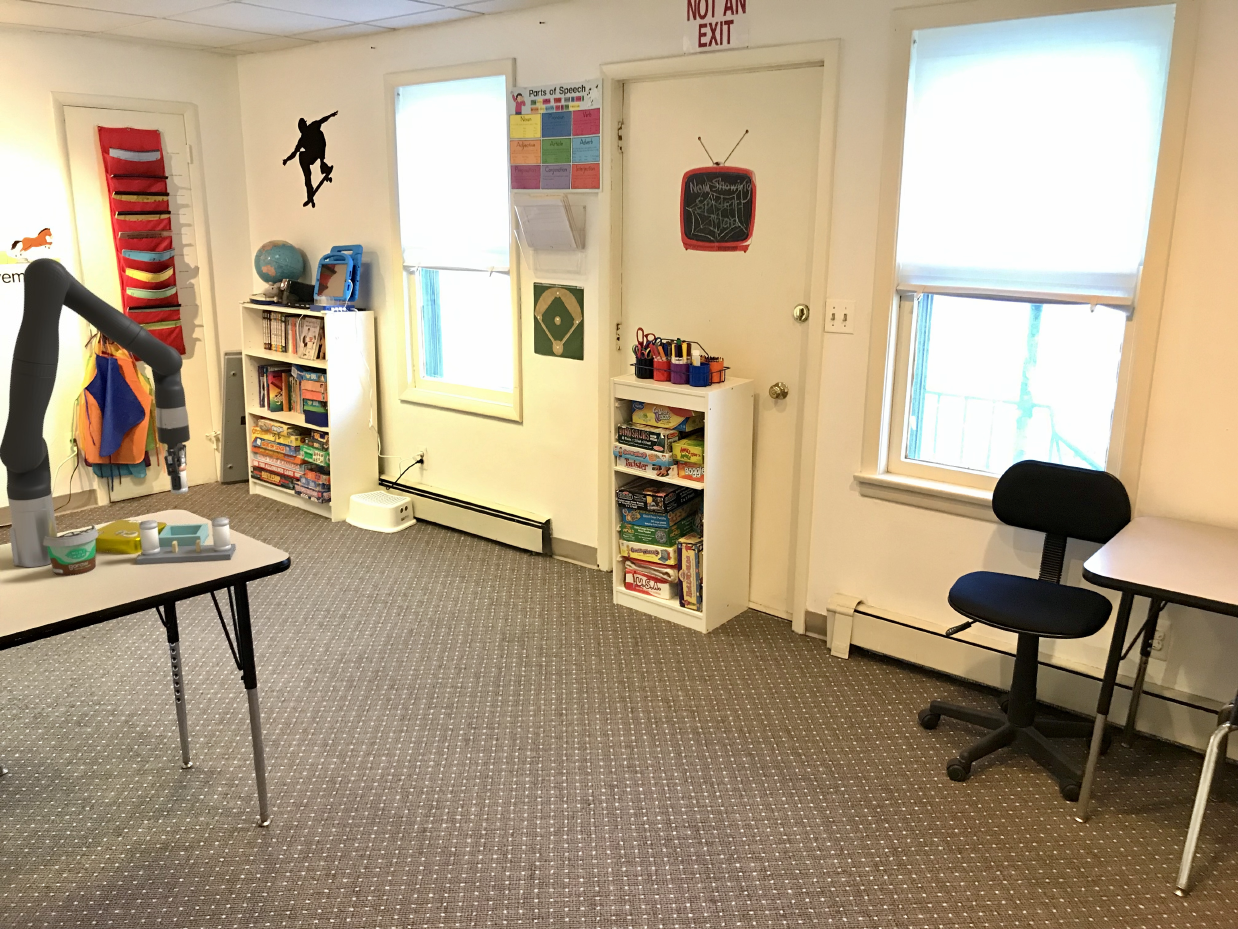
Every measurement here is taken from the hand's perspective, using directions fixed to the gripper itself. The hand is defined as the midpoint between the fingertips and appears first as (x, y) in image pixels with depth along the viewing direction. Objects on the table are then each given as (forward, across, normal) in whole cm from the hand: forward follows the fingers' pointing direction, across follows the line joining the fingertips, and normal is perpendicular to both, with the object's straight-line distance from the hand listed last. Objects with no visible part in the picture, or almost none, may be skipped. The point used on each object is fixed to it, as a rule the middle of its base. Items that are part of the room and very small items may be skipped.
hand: (178, 487), depth 246 cm
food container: (+16, +18, -20) cm, 31 cm away
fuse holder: (+16, +11, +3) cm, 19 cm away
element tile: (+16, -2, -14) cm, 22 cm away
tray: (+16, 0, 0) cm, 16 cm away
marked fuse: (+1, 0, 0) cm, 1 cm away
